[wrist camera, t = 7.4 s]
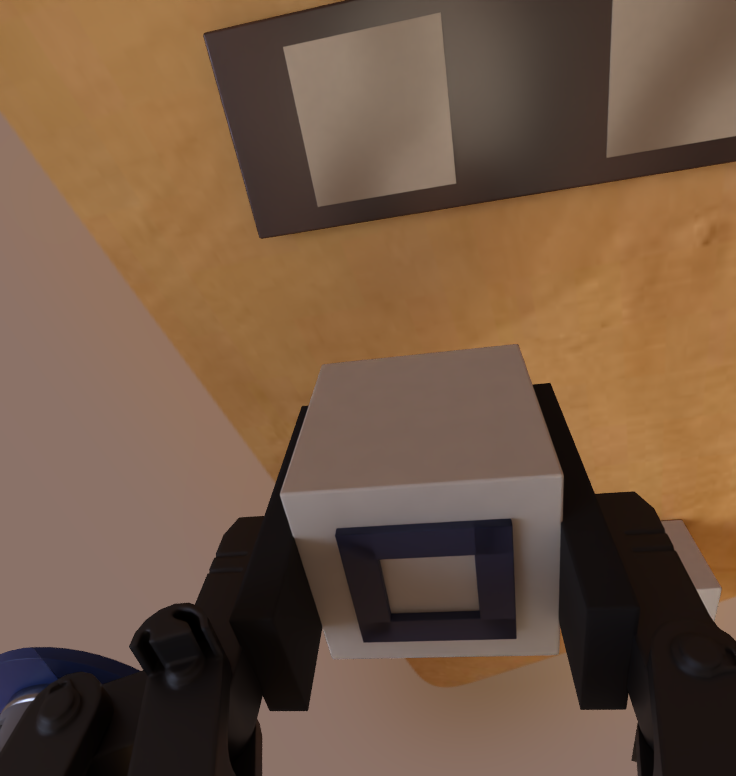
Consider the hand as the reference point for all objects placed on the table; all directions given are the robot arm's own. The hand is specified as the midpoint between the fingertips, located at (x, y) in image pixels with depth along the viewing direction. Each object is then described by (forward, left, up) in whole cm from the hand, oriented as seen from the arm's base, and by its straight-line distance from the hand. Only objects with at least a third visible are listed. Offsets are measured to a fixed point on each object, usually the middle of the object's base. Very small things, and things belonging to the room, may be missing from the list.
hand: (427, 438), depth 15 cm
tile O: (0, 0, 0) cm, 0 cm away
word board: (+5, +7, -13) cm, 16 cm away
